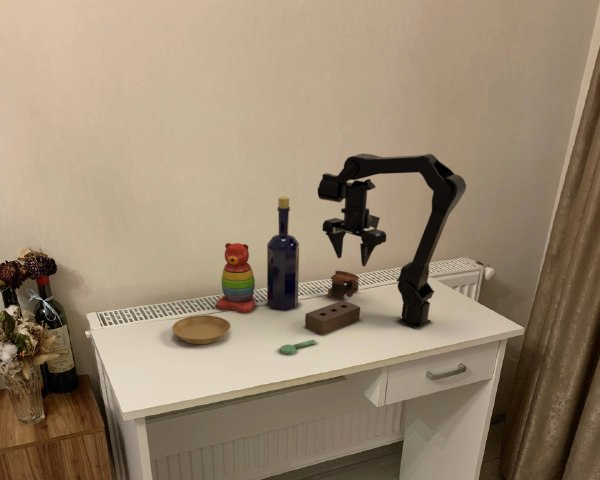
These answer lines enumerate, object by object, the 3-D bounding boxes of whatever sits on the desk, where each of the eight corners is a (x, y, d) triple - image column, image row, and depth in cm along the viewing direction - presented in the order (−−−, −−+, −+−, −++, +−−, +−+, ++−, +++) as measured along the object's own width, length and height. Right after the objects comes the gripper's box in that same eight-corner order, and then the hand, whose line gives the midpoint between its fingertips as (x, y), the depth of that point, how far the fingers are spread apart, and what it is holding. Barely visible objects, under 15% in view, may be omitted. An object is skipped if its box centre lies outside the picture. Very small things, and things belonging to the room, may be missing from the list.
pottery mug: (319, 294, 185) (327, 268, 185) (343, 303, 190) (350, 278, 190) (342, 297, 175) (350, 269, 175) (366, 307, 180) (375, 280, 180)
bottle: (285, 313, 171) (286, 204, 156) (260, 305, 176) (259, 198, 160) (304, 303, 177) (308, 197, 162) (280, 296, 182) (281, 192, 167)
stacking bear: (213, 308, 173) (210, 246, 164) (228, 296, 181) (225, 236, 172) (248, 314, 170) (247, 251, 161) (262, 301, 178) (261, 241, 169)
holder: (359, 320, 168) (360, 306, 166) (322, 335, 159) (323, 321, 157) (342, 313, 172) (343, 300, 170) (304, 327, 163) (305, 313, 161)
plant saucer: (176, 351, 150) (175, 341, 148) (170, 326, 162) (169, 317, 160) (235, 345, 153) (235, 335, 152) (225, 321, 165) (225, 312, 164)
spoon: (312, 337, 155) (278, 346, 151) (320, 343, 153) (285, 352, 148) (311, 341, 156) (278, 350, 151) (319, 347, 154) (285, 356, 149)
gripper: (402, 207, 162) (395, 264, 170) (349, 194, 173) (346, 248, 181) (374, 213, 155) (369, 273, 163) (322, 200, 166) (320, 256, 174)
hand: (351, 262), depth 170 cm, fingers open, 9 cm apart
